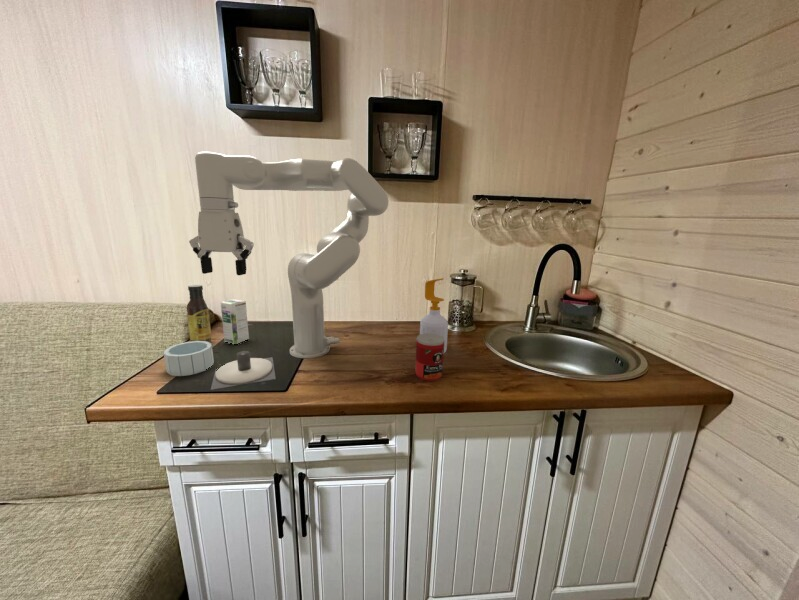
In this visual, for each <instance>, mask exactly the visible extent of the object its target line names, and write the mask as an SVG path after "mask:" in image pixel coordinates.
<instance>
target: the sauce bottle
mask: <svg viewBox="0 0 799 600" xmlns="http://www.w3.org/2000/svg"><path fill="white" fill-rule="evenodd" d="M187 290H188V292H189V301H188V302H187V305H186V314H187V315H186V317H187V325H188V335H189V340H190V342H192V341H206V342H209V343H211V341H212V329H211V320H210V309H209V307H208V306H207V303H206V301H205V299H204V294H203V290H204V289H203V285H201V284H192V285H188V286H187Z"/></svg>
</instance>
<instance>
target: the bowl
mask: <svg viewBox="0 0 799 600" xmlns="http://www.w3.org/2000/svg"><path fill="white" fill-rule="evenodd" d="M212 345H213V344H212V343H211V342H206V341H192V342H191V341H186V342H182V343H177V344H174V345H171V346H169V347H168V348H166V349H164V351H163V359H164V364H165V370H166V374H168V375H170V376H173V377H175V376H176V377H184V376H191V375H197V374H199V373H202V372H205V371H207V370H209V369H210V368H212V367H213V366H214V362H215V360H214V353H213V347H212ZM212 365H213V366H212ZM211 366H212V367H211ZM209 367H210V368H209ZM208 368H209V369H208ZM206 369H207V370H206Z"/></svg>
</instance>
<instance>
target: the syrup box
mask: <svg viewBox="0 0 799 600" xmlns="http://www.w3.org/2000/svg"><path fill="white" fill-rule="evenodd" d="M220 310H221V319H222V320H221V321H222V329H223V330H222V331H223V339H224V343H225V342H228V343H227V344H230V343H232V344H231V345H234V344H238V343H240V342H242V341H245V340H247V339H249V340H250V335H249V324H248V313H247V312H248V311H247V301H246V300H240V299H228V300H223V301H220ZM245 342H246V341H245ZM240 344H241V343H240ZM238 345H239V344H238Z"/></svg>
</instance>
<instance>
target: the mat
mask: <svg viewBox="0 0 799 600" xmlns="http://www.w3.org/2000/svg"><path fill="white" fill-rule="evenodd" d="M262 359H266V360H269V361H270V362H271V363H272V370H271V372H270V373H269V374H268V375H266V376H265V377H263V378H261V379H258V380H255V381H252V382H248V383H242V384H225V383H221V382H219V381H218V380H217V379H216V370H217V369H218V368H217V369H216V368H215V371H214V375H213V378H212V383H211V388H210V391H212V390H217V389H218V390H220V389H224V388H230V387H235V386H243V385H249V384H255V383H259V382H260V383H261V382H267V381H273V380H276V373H275V364H274V359H273V356H271V357H265V358H262Z"/></svg>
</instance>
